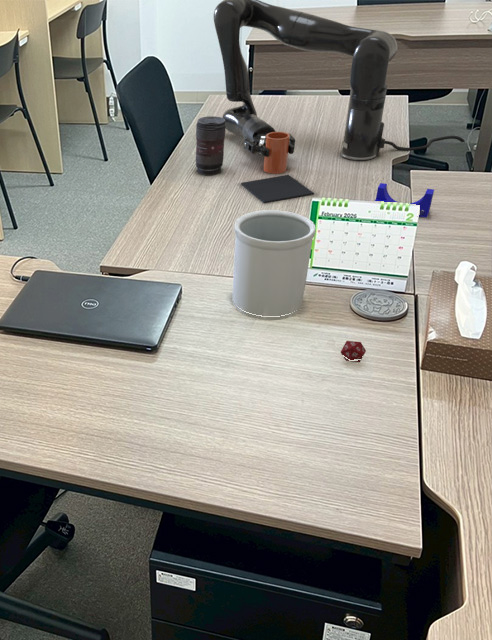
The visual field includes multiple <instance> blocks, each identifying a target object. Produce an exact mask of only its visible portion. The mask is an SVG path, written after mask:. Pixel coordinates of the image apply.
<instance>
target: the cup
mask: <svg viewBox="0 0 492 640" xmlns="http://www.w3.org/2000/svg"><path fill="white" fill-rule="evenodd" d="M289 134H290V133H289ZM289 134H288V132H285V131H275V132H271V133H268V134H267V135H266V143H265V146H266V147H267V148H268V149H269V157H265V156H263V158H264V159H263V172H265V173H267V174H272V175H274V174H275V175H278V174H283V173H285V172H287V170H288V169H287V168H288V160H289V158H288V157H289V153H288V150H289V140H290V135H289Z"/></svg>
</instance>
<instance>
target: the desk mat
mask: <svg viewBox="0 0 492 640" xmlns="http://www.w3.org/2000/svg"><path fill="white" fill-rule="evenodd" d="M240 185H241V186H243V188H245V189H246V190H247V191H248V192H250V193H251V194H252V195H253V196H255V197H256V198H257V199H258V200H259V201H261V203H263V204H268V203H273V202H280V201H284V200H290V199H296V198H302V197H307V196H313V195H314V194H315V192H313V191H312V190H311V189H309V188H307V187H306V186H305V185H303V184H302V183H300V182H299V181H298V180H297V179H295V178H294V177H293V176H291V175H289V174H284V175H279V176H273V177H268V178H262V179H255V180H251V181H244V182H241V183H240Z"/></svg>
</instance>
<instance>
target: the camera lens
mask: <svg viewBox="0 0 492 640" xmlns="http://www.w3.org/2000/svg"><path fill="white" fill-rule="evenodd" d="M195 126H196V128H195V139H196V145H195V146H196V147H195V167H196V170H197V173H198V174H200V175H203V176H213V175H217V174H219V173H220V172H221V171H222V167H223V165H224V154H225V152H224V151H225V150H224V149H225V139H226V123H225V119H224V118H222V117H221V116H213V115H211V116H210V115H209V116H203V117H199V118H198V119H197V122H196V125H195Z"/></svg>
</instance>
